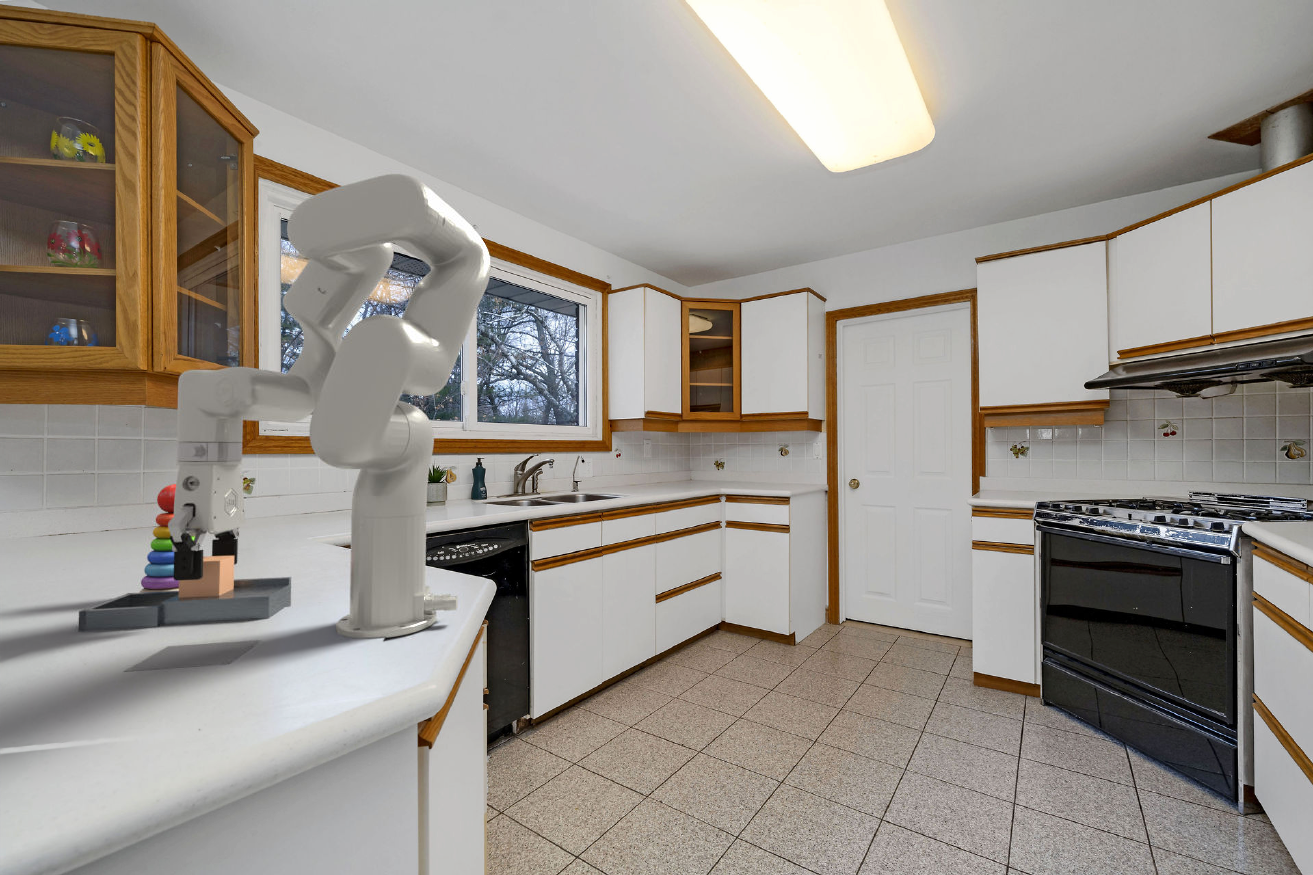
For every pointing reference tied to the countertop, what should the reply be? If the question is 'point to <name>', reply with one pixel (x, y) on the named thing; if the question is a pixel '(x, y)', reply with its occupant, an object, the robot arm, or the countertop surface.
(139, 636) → the countertop surface
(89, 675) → the countertop surface
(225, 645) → the mat
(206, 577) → the tan cardboard box
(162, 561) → the stacking toy
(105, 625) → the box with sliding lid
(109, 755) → the countertop surface
